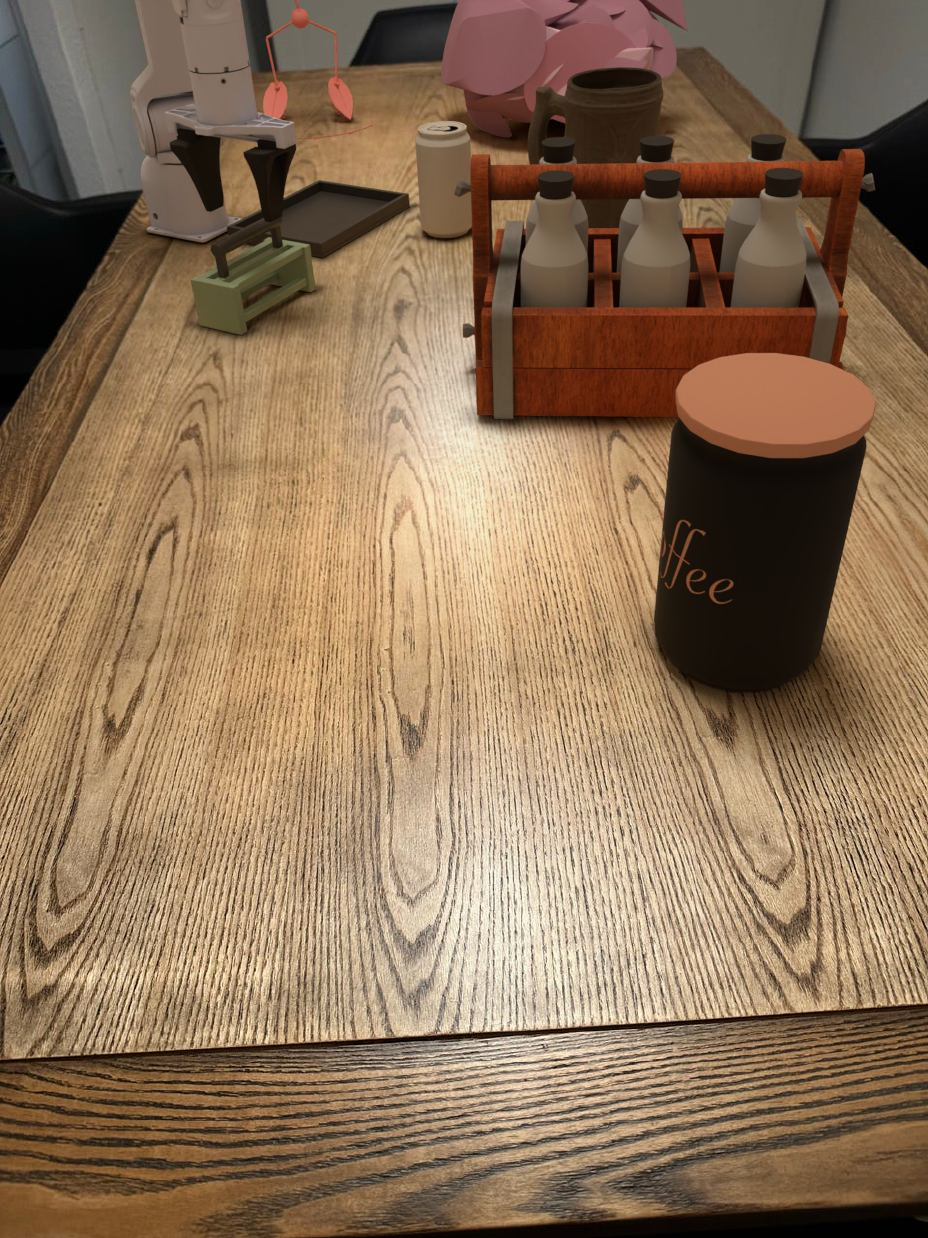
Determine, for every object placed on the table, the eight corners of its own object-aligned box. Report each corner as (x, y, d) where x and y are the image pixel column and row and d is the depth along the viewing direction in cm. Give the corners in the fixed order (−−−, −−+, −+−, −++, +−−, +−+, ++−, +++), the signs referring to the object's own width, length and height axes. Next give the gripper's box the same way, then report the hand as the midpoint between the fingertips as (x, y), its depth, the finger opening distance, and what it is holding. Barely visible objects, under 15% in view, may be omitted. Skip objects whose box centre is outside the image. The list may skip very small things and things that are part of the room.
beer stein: (673, 256, 122) (677, 61, 109) (644, 292, 114) (645, 87, 102) (547, 249, 128) (537, 64, 115) (512, 283, 120) (497, 88, 108)
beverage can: (467, 241, 128) (464, 134, 120) (415, 239, 129) (408, 133, 121) (478, 222, 133) (474, 119, 125) (427, 220, 134) (421, 118, 126)
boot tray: (228, 240, 131) (226, 226, 130) (320, 192, 144) (318, 179, 143) (323, 258, 126) (321, 243, 124) (409, 206, 138) (408, 193, 137)
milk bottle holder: (471, 321, 110) (464, 121, 98) (820, 322, 107) (858, 114, 95) (451, 423, 94) (439, 198, 82) (861, 427, 91) (913, 193, 79)
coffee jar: (636, 600, 74) (656, 358, 62) (789, 587, 74) (835, 344, 63) (673, 707, 66) (703, 452, 54) (844, 692, 66) (909, 435, 55)
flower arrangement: (653, 139, 173) (678, -68, 160) (693, 150, 153) (724, -86, 140) (437, 129, 170) (444, -83, 157) (448, 139, 149) (456, -104, 136)
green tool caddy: (199, 325, 112) (182, 244, 107) (275, 280, 121) (263, 204, 115) (241, 335, 110) (226, 253, 105) (316, 289, 118) (305, 211, 113)
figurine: (230, 120, 174) (186, -144, 151) (389, 109, 175) (368, -155, 153) (224, 148, 162) (175, -135, 140) (394, 135, 163) (373, -146, 141)
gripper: (132, 70, 101) (163, 216, 109) (253, 83, 95) (276, 236, 103) (182, 53, 105) (208, 195, 114) (301, 65, 99) (319, 213, 108)
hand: (243, 213), depth 109 cm, fingers open, 7 cm apart
